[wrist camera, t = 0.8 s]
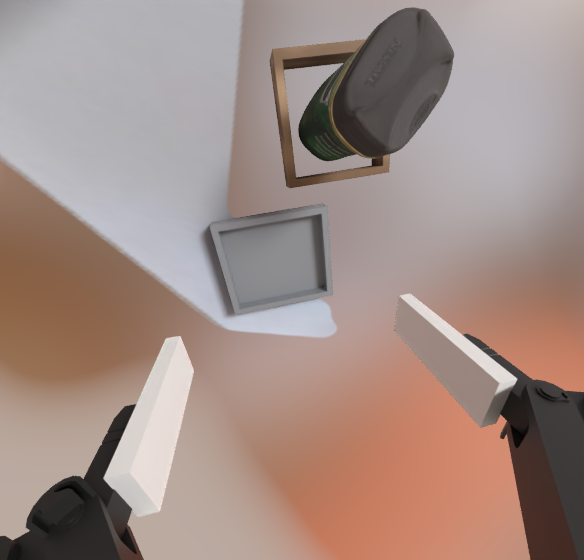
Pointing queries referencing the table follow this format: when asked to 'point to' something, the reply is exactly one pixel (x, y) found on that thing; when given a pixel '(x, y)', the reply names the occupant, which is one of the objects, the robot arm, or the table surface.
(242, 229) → the slate tray
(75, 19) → the table surface
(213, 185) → the table surface
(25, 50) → the table surface
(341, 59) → the walnut frame
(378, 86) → the coffee jar
